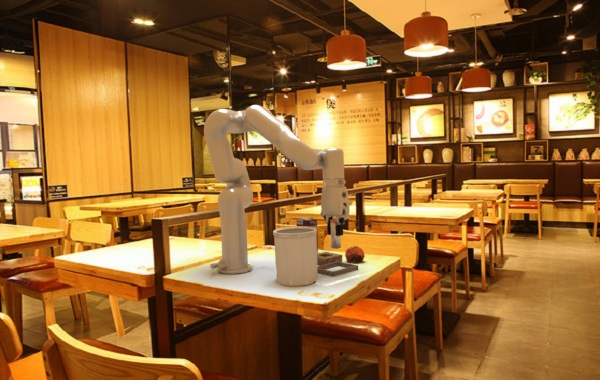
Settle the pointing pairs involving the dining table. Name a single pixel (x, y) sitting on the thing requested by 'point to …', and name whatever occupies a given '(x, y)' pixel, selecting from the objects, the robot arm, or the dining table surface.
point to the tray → (338, 272)
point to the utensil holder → (296, 255)
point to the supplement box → (308, 224)
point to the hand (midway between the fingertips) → (335, 234)
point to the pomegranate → (354, 254)
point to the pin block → (328, 258)
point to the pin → (334, 235)
